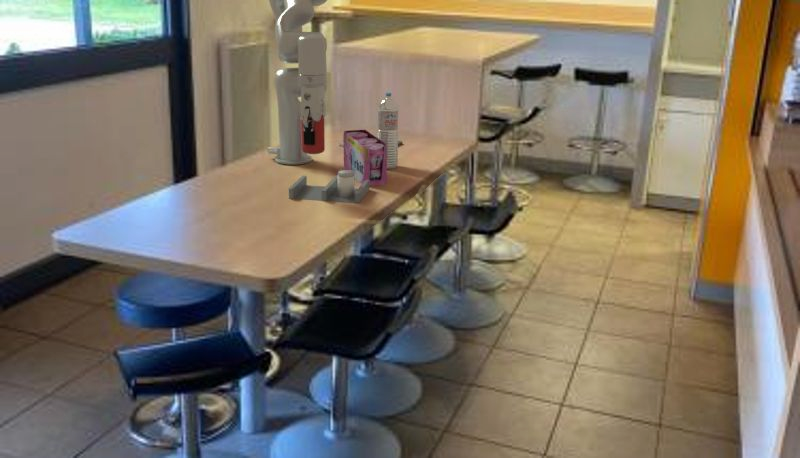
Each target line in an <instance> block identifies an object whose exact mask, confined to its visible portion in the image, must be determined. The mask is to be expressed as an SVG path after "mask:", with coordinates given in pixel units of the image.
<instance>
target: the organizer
mask: <svg viewBox="0 0 800 458" xmlns="http://www.w3.org/2000/svg"><path fill="white" fill-rule="evenodd" d="M307 183H308V181H307V175H301V176H300V178H298V179H297V180H296V181H295V182H294V183H293V184H292V185H291V186H290V187H288V199H295V200H305V201H307V200H308V201H318V202H319V201H320V202H321V201H322V202H333V203H346V204H348V203H349V204H360V203H361V202H362V200H363V199H364V198H365V196H366V195H367V194H368V192H369V191H370V186H369V180H365V181H364V182H363V184H361V185H360V186H359V187H358V188H355V195H354V196H353V197H347V198H345V197H339V196H338V182H337V177H333V178H332V179H331V180H330V181H329V182H328V183H327V184H326V185H325V186H322V185H311V184H310V185H308V184H307Z"/></svg>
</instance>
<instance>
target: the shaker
mask: <svg viewBox="0 0 800 458" xmlns="http://www.w3.org/2000/svg"><path fill="white" fill-rule="evenodd" d="M336 178H337V182H338V196H339V197H345V198H347V197H353V196H354V195H355V189H356V188H355V186H356V185H355V175H354V172H353V171H351V170H344V169H342V170H338V172H337V177H336Z"/></svg>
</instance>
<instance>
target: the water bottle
mask: <svg viewBox="0 0 800 458" xmlns="http://www.w3.org/2000/svg"><path fill="white" fill-rule="evenodd" d="M399 108H400V107H399V104H398V103H397V101H396V100H395V99H394V98H392V92H385V97H384V98H383V99H382V100H381V101H380V102H379V104H378V105H377V115H378V117H377V137H378V139H380V140H381V141H383V142H385V143H386V144H387V170H393V169H396V168H397V166H398V163H399V162H398V159H399V158H398V155H399V154H398V153H399V151H398V150H399V148H398V147H399V146H398V141H399Z"/></svg>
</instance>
